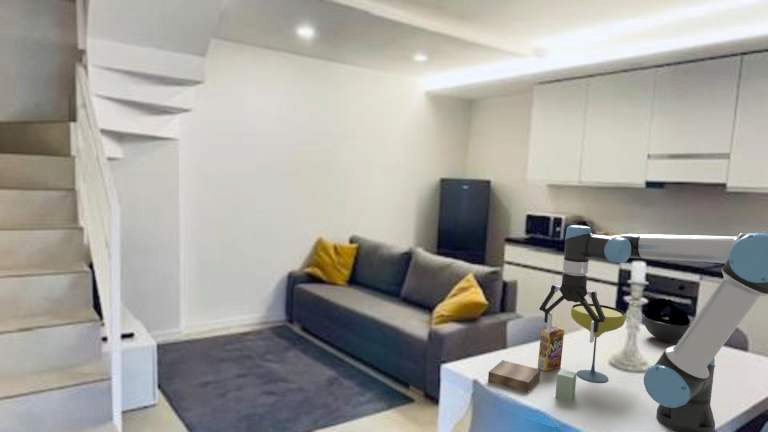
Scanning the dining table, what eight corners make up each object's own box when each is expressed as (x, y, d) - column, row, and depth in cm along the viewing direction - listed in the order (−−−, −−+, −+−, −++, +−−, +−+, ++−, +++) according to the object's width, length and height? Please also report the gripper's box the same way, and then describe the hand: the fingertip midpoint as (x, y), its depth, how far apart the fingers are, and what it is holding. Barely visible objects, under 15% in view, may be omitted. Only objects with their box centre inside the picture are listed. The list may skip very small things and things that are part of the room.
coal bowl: (652, 330, 244) (655, 292, 242) (697, 342, 229) (702, 302, 227) (633, 338, 231) (637, 298, 229) (680, 351, 216) (685, 308, 214)
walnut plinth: (539, 380, 180) (540, 369, 179) (527, 393, 168) (528, 382, 168) (501, 370, 187) (502, 360, 187) (487, 382, 176) (488, 371, 175)
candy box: (546, 372, 186) (549, 332, 185) (537, 368, 190) (540, 328, 188) (561, 367, 191) (564, 328, 190) (552, 363, 195) (555, 325, 193)
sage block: (574, 396, 167) (576, 373, 166) (571, 401, 163) (573, 377, 162) (559, 392, 170) (561, 369, 169) (555, 397, 166) (557, 373, 165)
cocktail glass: (629, 387, 176) (635, 318, 173) (579, 386, 175) (584, 316, 172) (604, 367, 194) (609, 304, 191) (558, 366, 193) (563, 302, 190)
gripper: (618, 277, 159) (612, 342, 161) (539, 266, 172) (535, 326, 174) (614, 281, 153) (608, 348, 155) (533, 269, 166) (528, 331, 168)
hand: (569, 337), depth 164 cm, fingers open, 13 cm apart
